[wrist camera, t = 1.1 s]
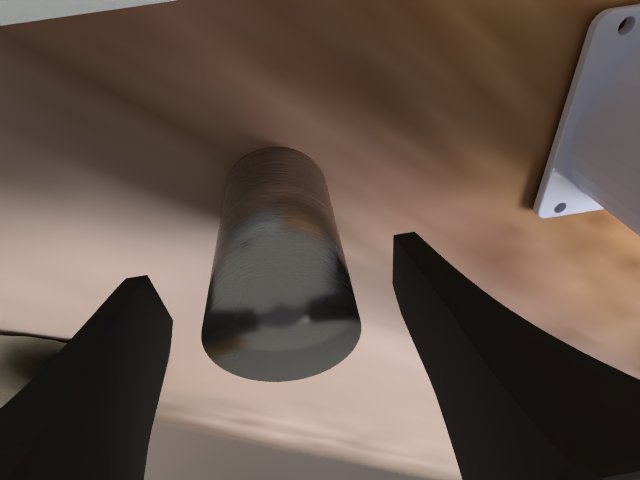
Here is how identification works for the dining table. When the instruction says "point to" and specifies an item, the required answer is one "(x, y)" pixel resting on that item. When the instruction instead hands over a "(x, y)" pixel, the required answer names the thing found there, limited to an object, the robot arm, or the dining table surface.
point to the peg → (278, 273)
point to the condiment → (23, 362)
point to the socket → (59, 8)
